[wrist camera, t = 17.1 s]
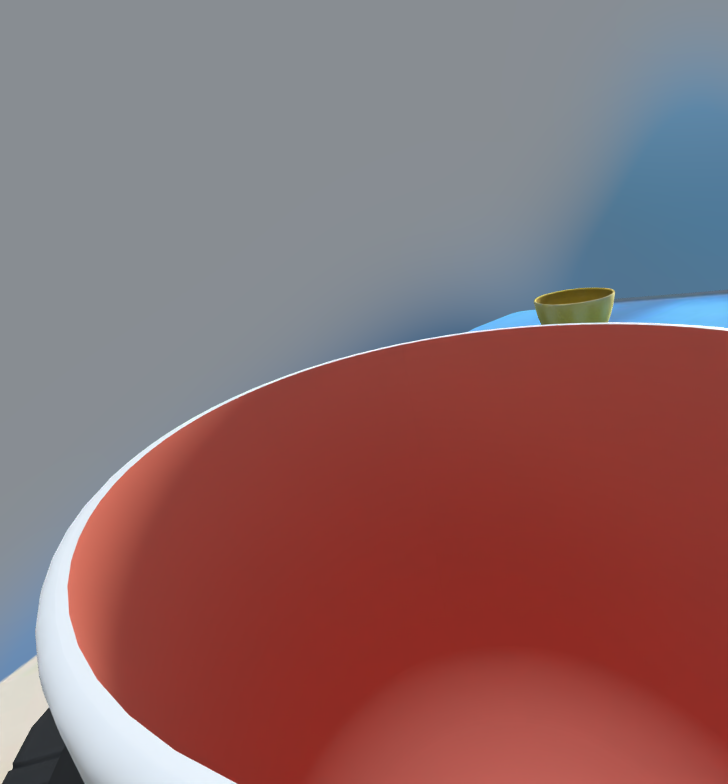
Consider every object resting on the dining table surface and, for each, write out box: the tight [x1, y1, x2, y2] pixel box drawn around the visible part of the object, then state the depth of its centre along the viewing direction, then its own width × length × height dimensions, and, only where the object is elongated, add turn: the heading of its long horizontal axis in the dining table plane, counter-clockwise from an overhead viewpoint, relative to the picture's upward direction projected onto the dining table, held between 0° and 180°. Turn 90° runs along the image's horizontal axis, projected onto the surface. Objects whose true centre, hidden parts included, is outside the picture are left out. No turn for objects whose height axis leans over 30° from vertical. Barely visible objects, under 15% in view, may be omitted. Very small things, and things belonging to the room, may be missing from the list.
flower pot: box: [534, 288, 615, 325], centre depth 70 cm, size 10×10×7 cm
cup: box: [35, 322, 728, 784], centre depth 8 cm, size 10×10×10 cm
